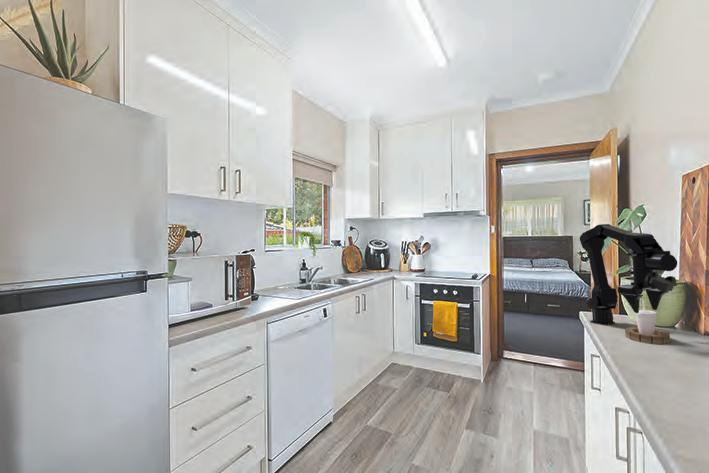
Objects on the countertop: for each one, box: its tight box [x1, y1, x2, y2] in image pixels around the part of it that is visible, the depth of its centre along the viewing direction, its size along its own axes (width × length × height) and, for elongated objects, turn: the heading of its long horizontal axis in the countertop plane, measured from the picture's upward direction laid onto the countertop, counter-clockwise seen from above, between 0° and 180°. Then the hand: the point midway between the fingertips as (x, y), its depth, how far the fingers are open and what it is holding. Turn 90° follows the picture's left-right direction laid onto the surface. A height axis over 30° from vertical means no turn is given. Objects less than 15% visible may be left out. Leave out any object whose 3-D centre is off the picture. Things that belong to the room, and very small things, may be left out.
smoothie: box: [633, 299, 658, 335], centre depth 121 cm, size 6×6×14 cm
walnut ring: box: [624, 326, 671, 345], centre depth 121 cm, size 12×12×2 cm
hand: (645, 311), depth 120 cm, fingers open, 9 cm apart
